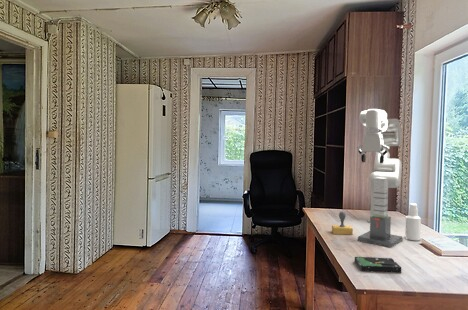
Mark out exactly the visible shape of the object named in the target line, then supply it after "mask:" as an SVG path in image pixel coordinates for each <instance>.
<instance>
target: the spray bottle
mask: <svg viewBox="0 0 468 310" xmlns="http://www.w3.org/2000/svg"><path fill="white" fill-rule="evenodd" d="M408 208H409V209H408V215H406V216H405V239H406V240H410V241H421V234H422V232H421V230H422V229H421V227H422V223H421V222H422V219H421V217H420V216H419V215H418V214H419V212H418V211H419V208H418V204H417V203H414V202H413V203H412V202H411V203H409V207H408Z"/></svg>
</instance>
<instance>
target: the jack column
mask: <svg viewBox="0 0 468 310" xmlns="http://www.w3.org/2000/svg"><path fill="white" fill-rule="evenodd" d="M388 198H389V188H388V178H381V177H377V178H374V214H373V216H374V217H377V218H384V219H385V218H387V216H389V215H388V209H389V206H388V205H389V199H388Z"/></svg>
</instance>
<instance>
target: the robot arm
mask: <svg viewBox="0 0 468 310" xmlns="http://www.w3.org/2000/svg"><path fill="white" fill-rule="evenodd" d="M359 122H360V124H361V125H362V126H363V127H365V134H364V135H363V140H362V144H361V145H359V146H358V147H356V149H357V151H358V153H359V155H361V156H360V159H361V160H360V161H361V163H366V157H367V156H366V154H367V153H375V158H374V162H373V163H374V164H373V170H374V171H372V172H371V173H370V174H369V175H368V177H369V178H368V179H369V185H370V187H369V188H370V214H369V215H370V216H369V217H371V216H373V214H374V178H377V177H381V178H388V189H391V188H392V189H397V188H399V187H400V185H401V180H402V170H403V169H402V168H403V166H402V165H403V164H402V161H401V160H400V159H399V158H390V157H391V154H390V152H389V150H390V147H399V146H401V144H402V139H403V138H402V126H401V122H400V119H398V118H388V113H387V112H386V111H385V110H384V109H378V108H369V109H367V110H363V111H361V112H360V114H359ZM361 149H362V150H361ZM367 222H368V223H370V218H368V219H367Z"/></svg>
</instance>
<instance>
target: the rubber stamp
mask: <svg viewBox="0 0 468 310" xmlns="http://www.w3.org/2000/svg"><path fill="white" fill-rule="evenodd" d="M338 217H339V221H340V222H341V223H340V224H339V225H338V224H337V225H336V224H333V225H331V233H332V234H333V235H346V236H347V235H348V236H351V235H352V236H353V235H354V234H353V233H354V227H352V226H351V225H345V224H344V223H345V222H344V221H345V220H346V217H347V216H346V212H344V211H340V212H339V214H338Z"/></svg>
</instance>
